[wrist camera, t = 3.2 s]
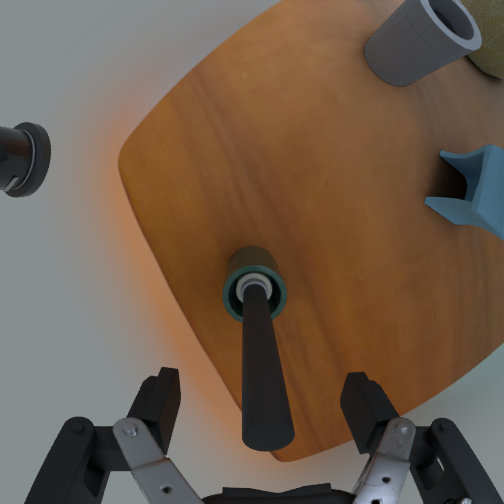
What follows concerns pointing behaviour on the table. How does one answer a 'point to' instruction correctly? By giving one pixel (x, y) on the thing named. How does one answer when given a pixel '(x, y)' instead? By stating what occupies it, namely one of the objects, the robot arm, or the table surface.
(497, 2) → the vase
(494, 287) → the table surface
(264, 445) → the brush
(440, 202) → the blue bent piece
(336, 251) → the table surface
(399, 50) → the cup
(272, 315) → the holder
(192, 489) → the robot arm
